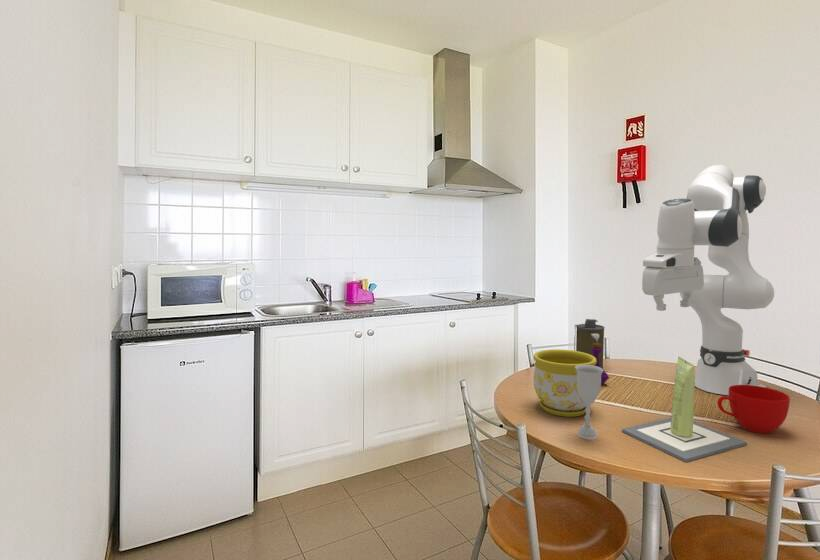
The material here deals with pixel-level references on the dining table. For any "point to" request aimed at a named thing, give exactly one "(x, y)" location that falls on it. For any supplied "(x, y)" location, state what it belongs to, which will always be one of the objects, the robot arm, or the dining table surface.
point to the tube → (683, 399)
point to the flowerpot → (560, 381)
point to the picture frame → (684, 440)
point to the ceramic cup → (757, 407)
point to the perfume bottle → (596, 351)
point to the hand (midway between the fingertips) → (673, 308)
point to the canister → (589, 338)
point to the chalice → (588, 395)
